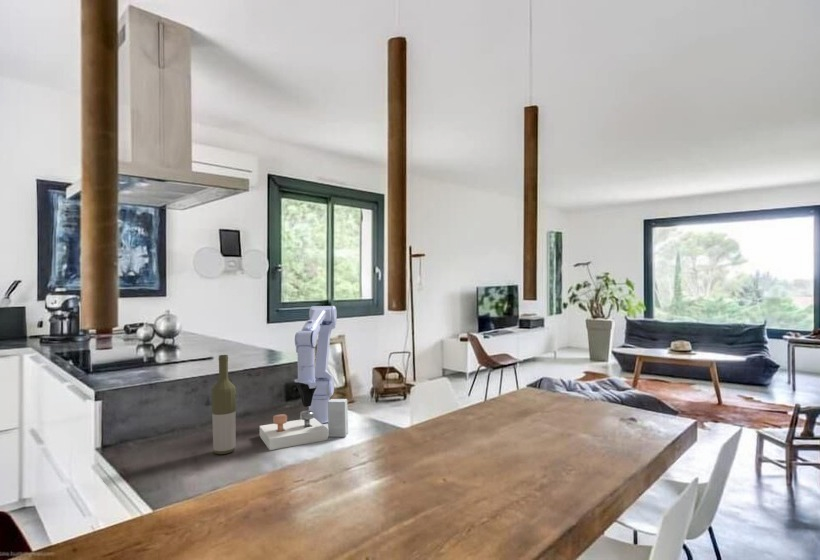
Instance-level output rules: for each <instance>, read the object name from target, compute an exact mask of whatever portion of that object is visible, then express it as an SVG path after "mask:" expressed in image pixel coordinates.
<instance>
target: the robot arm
mask: <svg viewBox="0 0 820 560" xmlns="http://www.w3.org/2000/svg"><path fill="white" fill-rule="evenodd" d="M308 311H309V313H308V316H309V319H308V320H306V322H305V324H304V325H303V327H302V328H301V330H298V331H297V332H296V333H295V335H294V346H295V351H296V352H295V353H296V354H297V355H296V356H297V378H295V379H293V380H294V382H295V383H299V384H297V385H296V388H297V389H298V392H299V395H300V399H301V403H302V406H304V407H305V408H307V407H308V410H310V411H313V414H314V418H315V419H316V420H317V421H319V422H320V423H321V424H322V425H323V424H328V401H329V400H331V399H330V398H331V397H332V396H333V395H334V392H335V378H334V376H333V374H331V373H330V372H329V371H328V367H329V366H328V365H329V355H330V343H331V334H332V330H334V329H336V326H337V317H338V315H337V314H338V313H337V307H336V306H335V305H323V306H322V305H319V306H318V305H317V306H315V305H312V306H311V307H310V308H309V310H308ZM315 347H316V349H315ZM315 350H316V351H315ZM315 352H316V354H315Z"/></svg>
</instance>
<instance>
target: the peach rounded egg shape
mask: <svg viewBox="0 0 820 560" xmlns="http://www.w3.org/2000/svg"><path fill="white" fill-rule="evenodd" d="M272 420H273V421H272V422H273V423H272V424H278V432H282V431H283V424H284V423H286V422H287V421H288V415H287V414H285V413H283V414H275V415H273V417H272Z"/></svg>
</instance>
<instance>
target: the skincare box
mask: <svg viewBox="0 0 820 560" xmlns="http://www.w3.org/2000/svg"><path fill="white" fill-rule="evenodd" d="M348 410H349V409H348V398H331V399H330V400H329V401H328V423H327V426H328V427H327V429H328V438H345V437H347V435H349V411H348Z"/></svg>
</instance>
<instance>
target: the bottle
mask: <svg viewBox="0 0 820 560" xmlns="http://www.w3.org/2000/svg"><path fill="white" fill-rule="evenodd" d="M211 388H212V389H211V413H212V414H211V416H212V418H211V419H212V421H211V422H212V450H213V453H214V454H215V455H226V454H227V455H228V454H230V453H232V452H234V451H235V449H236V424H237V423H236V419H237V417H236V412H237V411H236V409H237V408H236V400H237V399H236V395H237V391H236V390H237V389H236V386H235V384H233V383H232V382H231V381H230V379H229V355H228V354H220V355H218V381H217V382H216V383H215V385H213V387H211Z"/></svg>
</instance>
